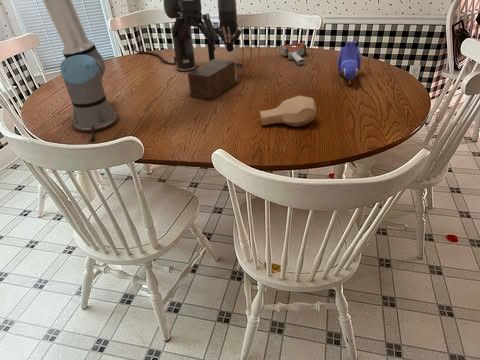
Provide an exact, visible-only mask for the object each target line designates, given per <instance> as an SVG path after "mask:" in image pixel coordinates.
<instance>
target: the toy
mask: <svg viewBox="0 0 480 360" xmlns="http://www.w3.org/2000/svg"><path fill="white" fill-rule="evenodd" d="M356 44H358V43H357V41H355V40H353V41H351V42H350V41H346V42H345V45H344V46H341V47H340V50H339V53H338V56H337V61H336V62H337V63H336V68H337V71H339V73H340V74H341V75H342V76H343V77H344V78H345V80H347V83H348V86H350V85H351V83H352V81H353V80H354V79H356V77H357V76H358V75H359V71H360V70H361V67H362V54H361V50H360V46H359V45H357V46H356Z"/></svg>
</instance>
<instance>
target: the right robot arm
mask: <svg viewBox="0 0 480 360" xmlns="http://www.w3.org/2000/svg"><path fill="white" fill-rule="evenodd" d="M180 1H181V0H163V10H164V13H165V15H166V17H168V18H169V19H172V20H173V19H176V13H178V12H181V13H183V12H182V11H181V5H180ZM217 10H218V21H219V24H218V27H216V28H214V29H215V31H216V33H217V35H218V37H219V39H220V40H221V41H222V42H224V43H225V47H226V51H227V52H228V53H232V52H233V51H234V43H235V42H237V41H238V40H239V38H240V36H241V35H242V33H243V31H244V30H243V29H242V28H241V29H240V27H239V25H238V22H237V21H238V15H237V13H238V12H237V0H217ZM183 22H184V19H183V18H182V22H181V26H180V29H181V27H182V24H183ZM174 25H175V22H174V23H173V24H172V25H171V27H170V32H171V35H172V34H173V30H174ZM179 31H180V30H179ZM171 37H172V36H171ZM182 39H184V42H185V48H186V56H184V57H181V53H180V48H179V47H178V42H177V39H176V38H173V37H172V43H173V50H174V56H173V62H169V61H167V60H164V58H163V57H162V56H161V55H159V54H158V53H155V52H150V51H142V50H141V51H140V50H137V49H136V48H134V47H133V48H132V49H131V52H135V53H137V54H146V55H152V56H155V57H157V58H159V59H160V60H161V61H162V63H165V64H167V65H170V66H172V65H173V66H175V65H176V70H177V71H179V72H189V71H190V72H191V71H193V70H195V69H197V66H196V58H195V51H194V43H193V42H194V41H193V36H192V26H188V28H187V30H186V31H185V33H184V35H183V38H182Z"/></svg>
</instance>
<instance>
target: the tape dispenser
mask: <svg viewBox="0 0 480 360" xmlns="http://www.w3.org/2000/svg"><path fill="white" fill-rule="evenodd" d="M293 46H294V47H293ZM279 48H280V49H279V50H280V54H281V55H283V57H287V58H288V60H289V61H291V60H292V61H293V60H294V61H295V63H296V64H297V66H300V65H303V64H304V63H305V58H303V57H302V56H305V55H306V53H307V44H306V43H305V42H295V43H289V44H280V46H279Z"/></svg>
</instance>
